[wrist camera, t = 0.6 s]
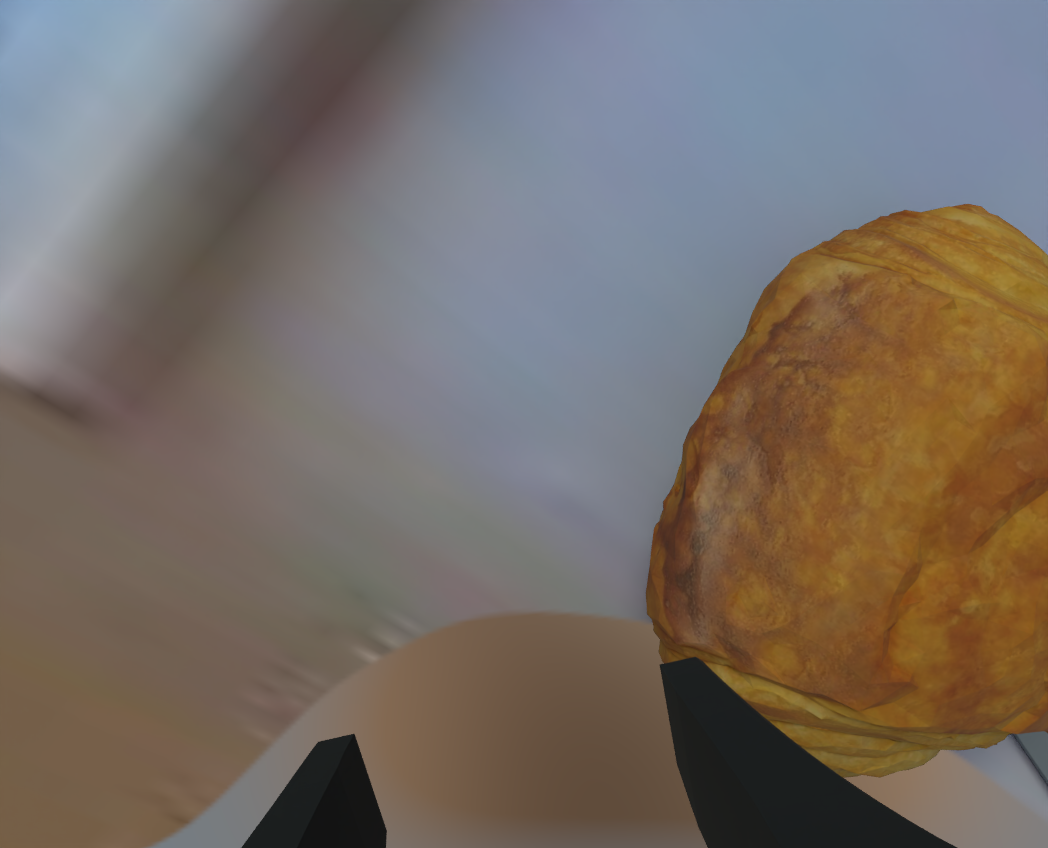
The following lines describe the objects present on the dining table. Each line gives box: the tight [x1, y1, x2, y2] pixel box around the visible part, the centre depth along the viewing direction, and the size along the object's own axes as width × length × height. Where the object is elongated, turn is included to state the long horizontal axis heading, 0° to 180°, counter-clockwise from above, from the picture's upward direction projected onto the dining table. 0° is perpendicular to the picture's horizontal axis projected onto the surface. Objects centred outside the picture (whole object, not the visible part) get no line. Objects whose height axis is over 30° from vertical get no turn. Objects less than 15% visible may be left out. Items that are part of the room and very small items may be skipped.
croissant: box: [646, 204, 1048, 778], centre depth 17 cm, size 14×16×8 cm
